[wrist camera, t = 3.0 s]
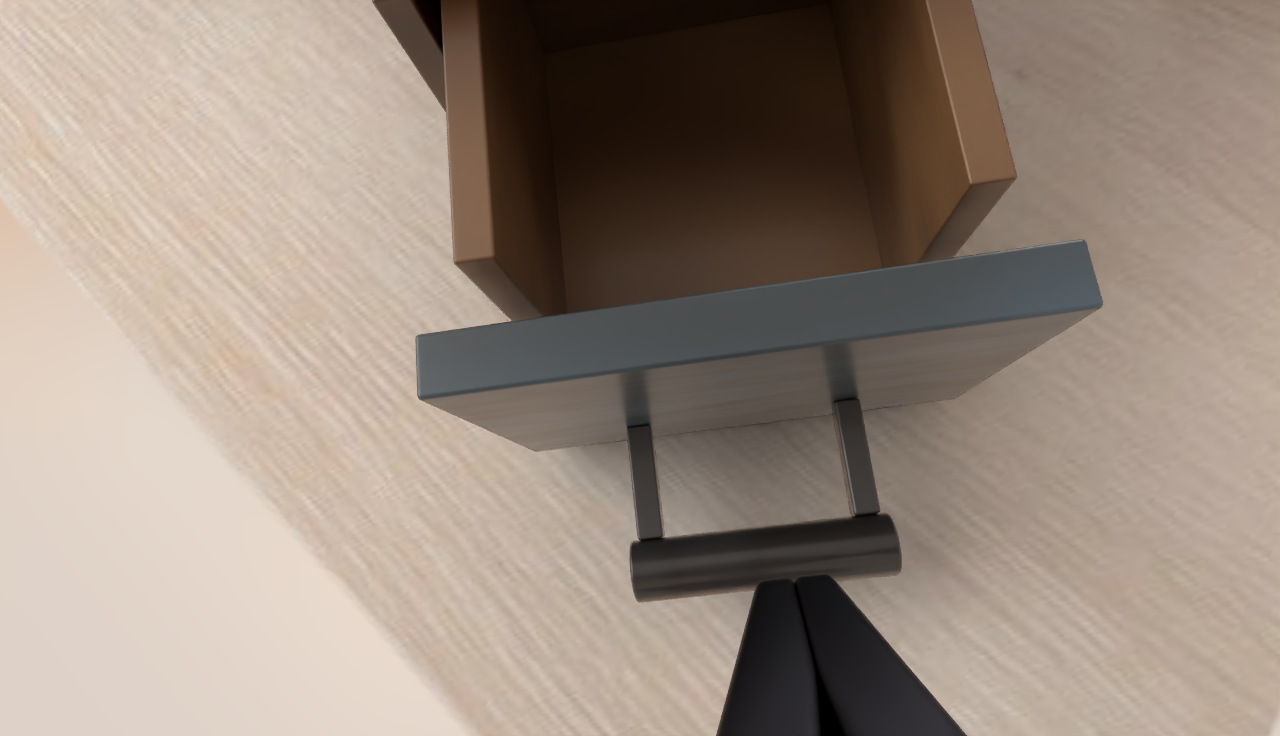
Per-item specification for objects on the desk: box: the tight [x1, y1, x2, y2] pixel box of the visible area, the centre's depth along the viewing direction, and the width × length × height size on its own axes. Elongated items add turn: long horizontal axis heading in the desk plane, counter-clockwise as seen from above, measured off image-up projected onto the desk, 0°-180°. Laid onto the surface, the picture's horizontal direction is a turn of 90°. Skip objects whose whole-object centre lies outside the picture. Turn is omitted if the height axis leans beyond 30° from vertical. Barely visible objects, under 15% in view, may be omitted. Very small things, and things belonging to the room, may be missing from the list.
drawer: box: [416, 0, 1103, 602], centre depth 17 cm, size 17×11×8 cm
